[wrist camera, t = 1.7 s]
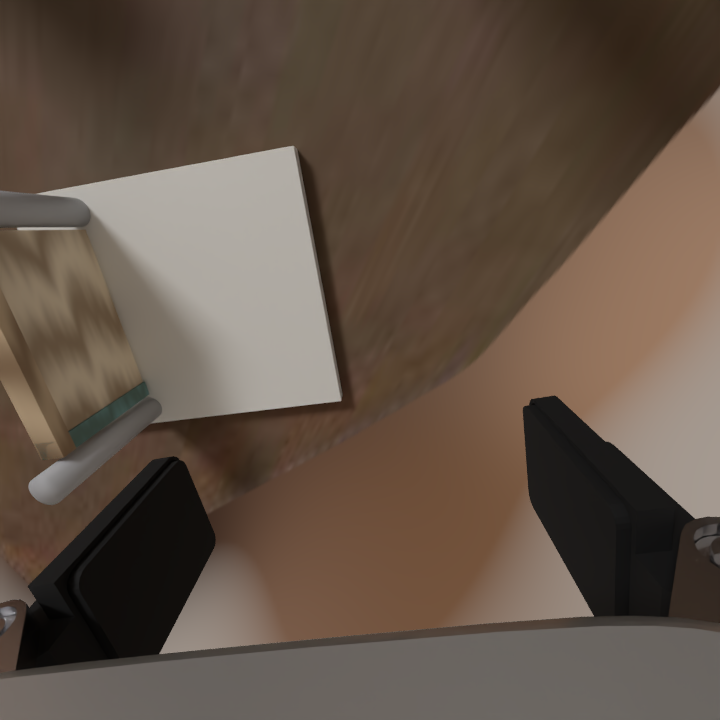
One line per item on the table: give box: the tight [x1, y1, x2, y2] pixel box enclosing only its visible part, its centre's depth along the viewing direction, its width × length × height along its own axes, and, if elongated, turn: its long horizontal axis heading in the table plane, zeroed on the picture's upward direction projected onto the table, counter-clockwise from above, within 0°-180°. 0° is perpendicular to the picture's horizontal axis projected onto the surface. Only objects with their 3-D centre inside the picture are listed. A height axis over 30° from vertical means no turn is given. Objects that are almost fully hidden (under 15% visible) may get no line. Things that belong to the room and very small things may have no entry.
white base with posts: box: [0, 146, 343, 505], centre depth 29 cm, size 23×26×14 cm
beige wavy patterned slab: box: [0, 230, 149, 460], centre depth 30 cm, size 16×2×11 cm, turn 9°
